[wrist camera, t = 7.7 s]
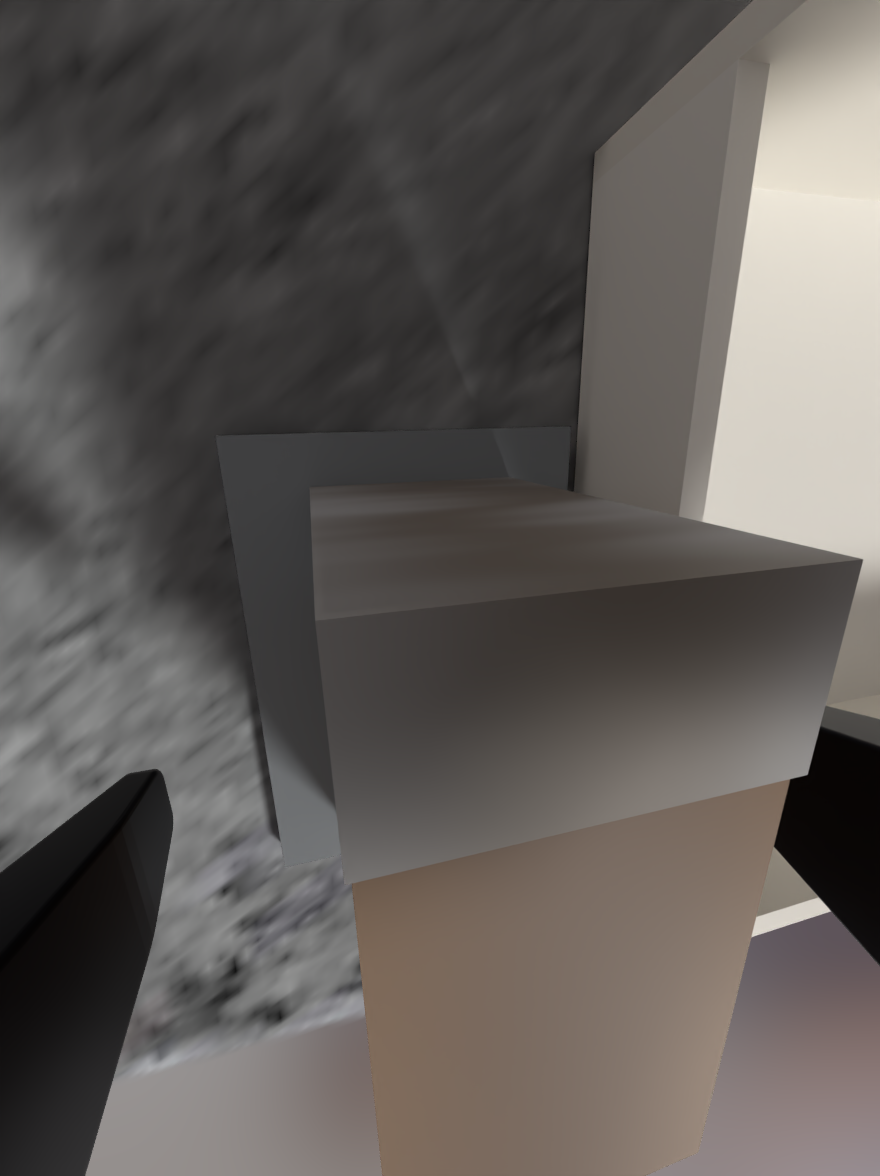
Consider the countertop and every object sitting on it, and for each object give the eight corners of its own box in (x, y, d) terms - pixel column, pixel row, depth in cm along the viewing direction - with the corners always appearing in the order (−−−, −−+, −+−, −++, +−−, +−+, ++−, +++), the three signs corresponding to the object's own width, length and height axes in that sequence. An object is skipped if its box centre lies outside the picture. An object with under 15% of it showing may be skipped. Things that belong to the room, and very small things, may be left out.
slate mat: (557, 426, 11) (571, 426, 10) (539, 793, 14) (548, 808, 13) (220, 435, 9) (215, 435, 9) (285, 847, 12) (284, 867, 12)
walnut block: (509, 477, 10) (863, 559, 4) (502, 787, 13) (707, 1161, 6) (309, 486, 9) (313, 621, 3) (344, 820, 12) (391, 1302, 5)
